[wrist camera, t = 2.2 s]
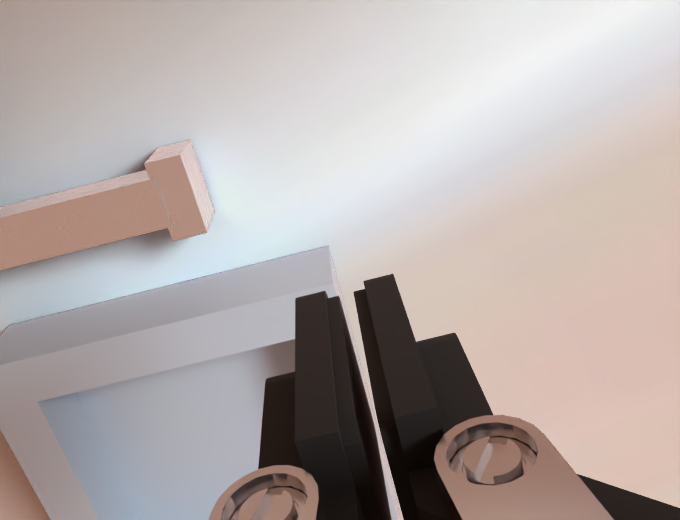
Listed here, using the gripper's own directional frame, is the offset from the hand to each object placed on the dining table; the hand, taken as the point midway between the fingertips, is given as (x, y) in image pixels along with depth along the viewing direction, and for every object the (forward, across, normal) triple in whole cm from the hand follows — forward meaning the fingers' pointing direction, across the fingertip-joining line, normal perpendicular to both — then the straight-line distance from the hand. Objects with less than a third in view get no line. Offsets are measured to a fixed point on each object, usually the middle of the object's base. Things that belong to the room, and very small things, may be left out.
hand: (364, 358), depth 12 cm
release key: (+17, +12, 0) cm, 21 cm away
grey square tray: (+17, +8, +12) cm, 23 cm away
